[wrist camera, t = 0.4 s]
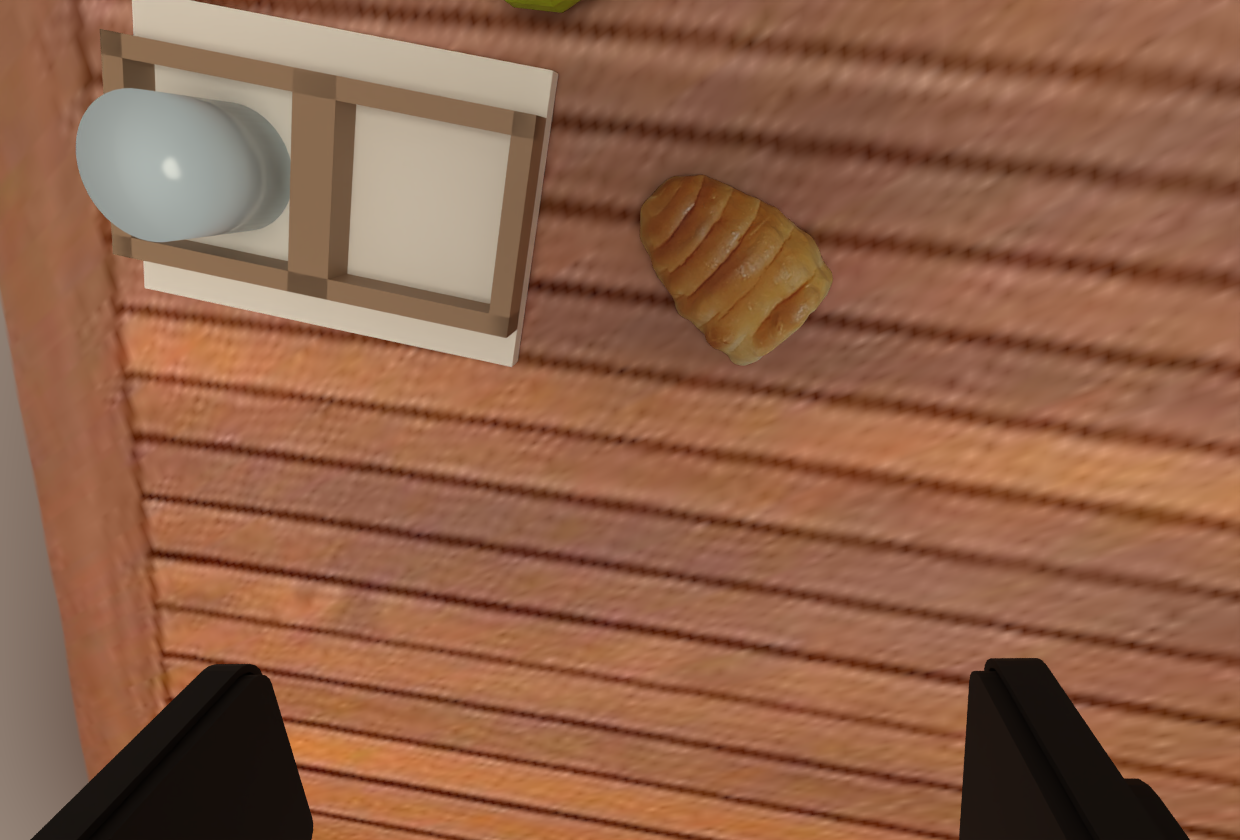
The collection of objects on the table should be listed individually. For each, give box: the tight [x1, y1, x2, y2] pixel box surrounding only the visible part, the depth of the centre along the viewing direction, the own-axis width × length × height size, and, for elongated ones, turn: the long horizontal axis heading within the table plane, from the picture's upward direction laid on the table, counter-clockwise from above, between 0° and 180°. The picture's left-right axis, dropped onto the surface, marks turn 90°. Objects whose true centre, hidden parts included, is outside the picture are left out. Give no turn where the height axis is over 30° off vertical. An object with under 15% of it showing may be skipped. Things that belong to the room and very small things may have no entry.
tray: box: [100, 0, 558, 367], centre depth 35 cm, size 14×20×3 cm
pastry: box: [640, 175, 833, 366], centre depth 34 cm, size 9×7×4 cm
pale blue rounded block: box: [76, 88, 291, 242], centre depth 32 cm, size 6×6×6 cm
